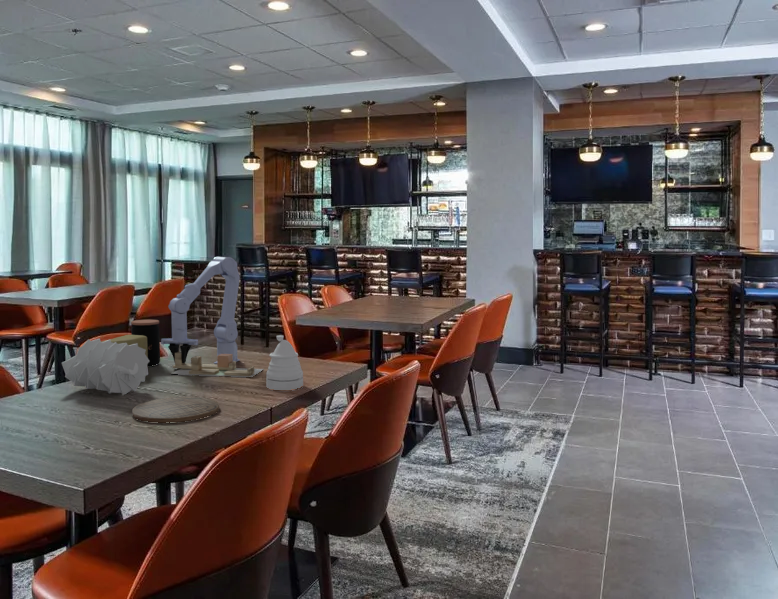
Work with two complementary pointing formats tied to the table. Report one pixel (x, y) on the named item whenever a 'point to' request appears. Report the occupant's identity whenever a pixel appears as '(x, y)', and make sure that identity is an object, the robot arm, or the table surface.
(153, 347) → the coffee jar
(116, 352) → the white spiky cylinder
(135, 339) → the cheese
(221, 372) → the mat
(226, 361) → the cube
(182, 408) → the trivet
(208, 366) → the beige wooden beam
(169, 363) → the table surface
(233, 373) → the broken strip
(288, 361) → the honey pot
